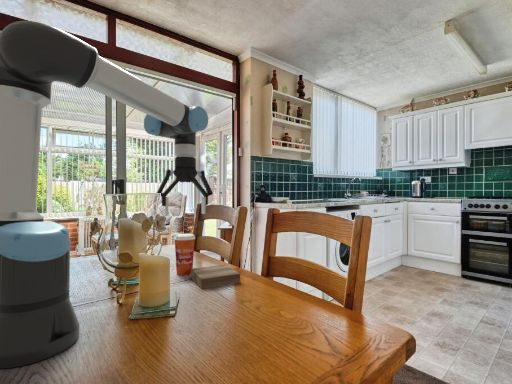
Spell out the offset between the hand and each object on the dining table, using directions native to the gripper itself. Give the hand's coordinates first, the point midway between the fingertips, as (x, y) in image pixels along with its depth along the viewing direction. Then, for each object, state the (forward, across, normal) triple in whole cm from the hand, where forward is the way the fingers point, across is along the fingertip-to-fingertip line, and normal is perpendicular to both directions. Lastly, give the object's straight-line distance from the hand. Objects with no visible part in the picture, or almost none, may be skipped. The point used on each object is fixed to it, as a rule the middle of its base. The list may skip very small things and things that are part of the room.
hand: (185, 214), depth 105 cm
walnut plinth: (+21, -7, +13) cm, 26 cm away
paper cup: (+22, 0, 0) cm, 22 cm away
